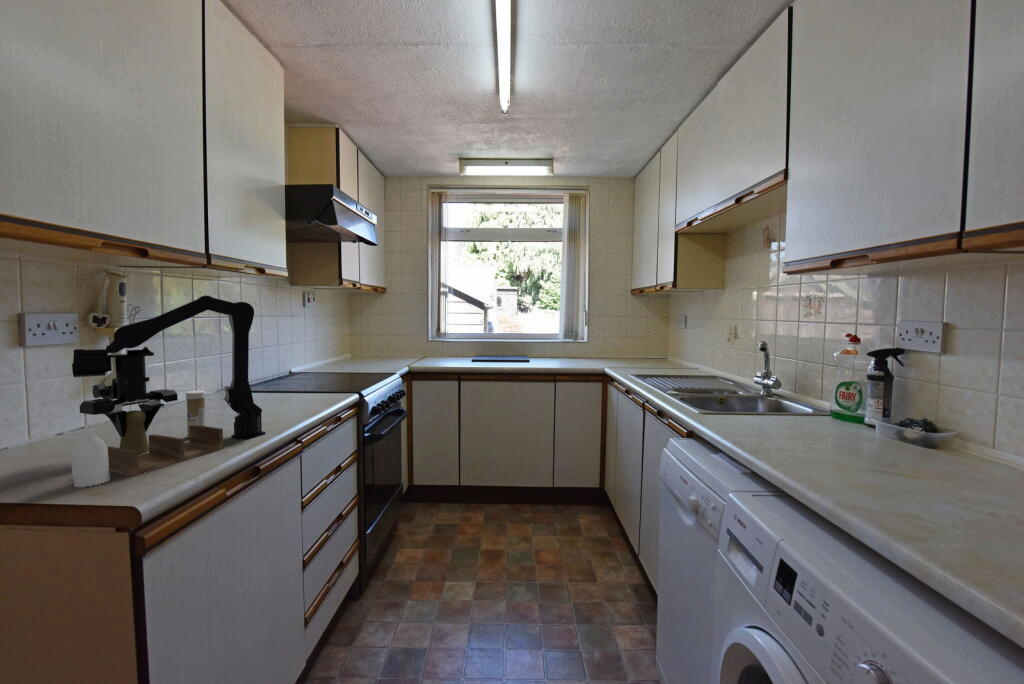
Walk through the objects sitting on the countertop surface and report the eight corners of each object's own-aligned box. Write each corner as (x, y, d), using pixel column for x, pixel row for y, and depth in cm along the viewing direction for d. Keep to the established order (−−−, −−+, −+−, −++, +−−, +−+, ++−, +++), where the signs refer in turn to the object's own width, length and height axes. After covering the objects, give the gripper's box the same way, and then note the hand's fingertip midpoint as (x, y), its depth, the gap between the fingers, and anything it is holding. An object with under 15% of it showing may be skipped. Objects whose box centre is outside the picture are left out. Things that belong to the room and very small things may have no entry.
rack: (193, 444, 118) (193, 424, 117) (223, 448, 114) (222, 428, 114) (100, 470, 98) (99, 446, 97) (133, 476, 94) (132, 452, 94)
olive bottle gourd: (131, 457, 106) (129, 414, 105) (112, 455, 107) (110, 413, 107) (155, 450, 112) (154, 409, 111) (137, 448, 113) (135, 408, 113)
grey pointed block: (114, 425, 92) (85, 432, 87) (117, 478, 93) (88, 489, 88) (91, 423, 93) (60, 430, 88) (93, 476, 94) (64, 486, 88)
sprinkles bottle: (183, 438, 123) (181, 392, 122) (196, 433, 128) (195, 389, 127) (197, 439, 122) (195, 393, 122) (210, 434, 127) (209, 390, 126)
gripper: (150, 368, 120) (152, 422, 121) (63, 377, 102) (66, 440, 103) (178, 370, 116) (180, 426, 117) (93, 380, 99) (96, 445, 100)
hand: (133, 434), depth 109 cm, fingers closed on olive bottle gourd, 5 cm apart
